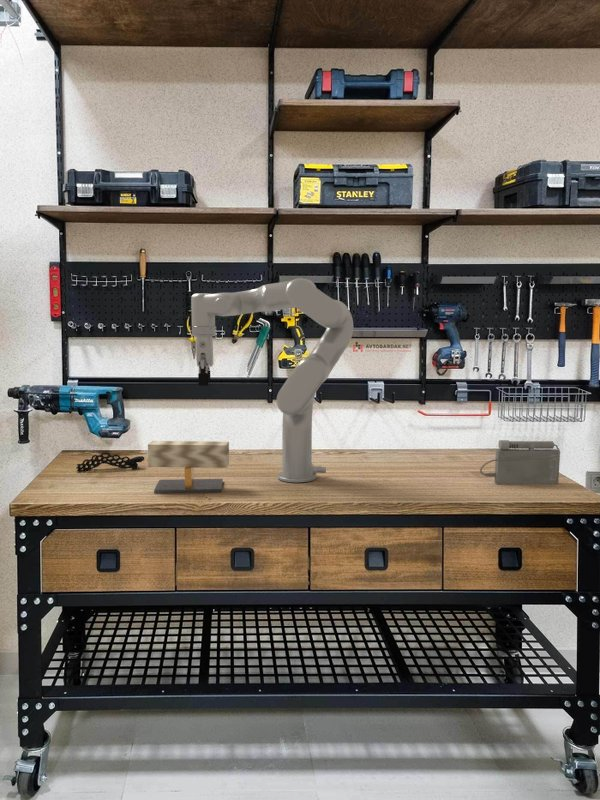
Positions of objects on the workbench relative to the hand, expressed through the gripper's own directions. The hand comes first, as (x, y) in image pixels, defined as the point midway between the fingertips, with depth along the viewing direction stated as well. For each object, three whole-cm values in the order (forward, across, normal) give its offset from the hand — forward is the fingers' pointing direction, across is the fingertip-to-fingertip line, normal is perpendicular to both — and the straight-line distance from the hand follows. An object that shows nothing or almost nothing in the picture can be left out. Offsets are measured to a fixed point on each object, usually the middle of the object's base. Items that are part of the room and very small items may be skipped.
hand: (204, 383), depth 223 cm
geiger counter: (+31, -19, -100) cm, 106 cm away
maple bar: (+23, -17, +4) cm, 29 cm away
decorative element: (+31, +8, +33) cm, 46 cm away
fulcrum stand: (+30, -17, +4) cm, 35 cm away
